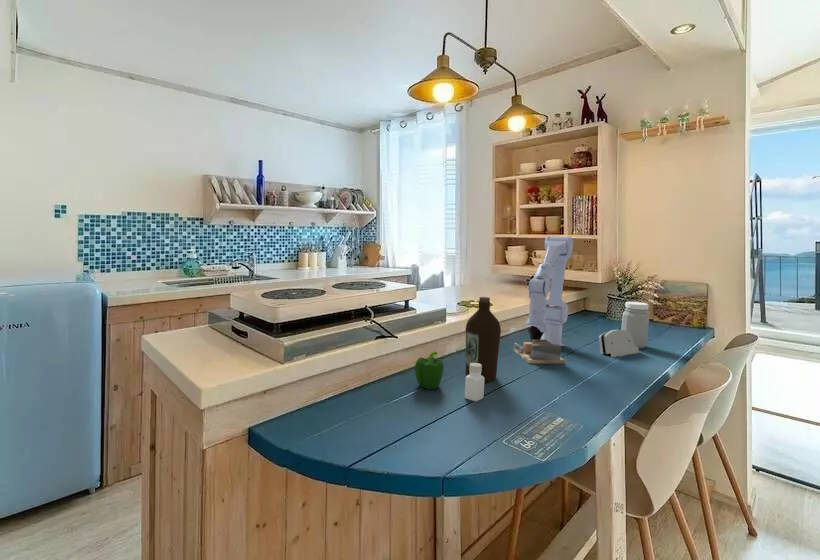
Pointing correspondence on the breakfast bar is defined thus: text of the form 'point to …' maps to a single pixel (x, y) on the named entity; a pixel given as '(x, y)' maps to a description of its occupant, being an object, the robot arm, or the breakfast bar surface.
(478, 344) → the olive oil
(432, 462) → the breakfast bar surface
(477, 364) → the white pill bottle
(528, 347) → the block
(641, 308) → the jar
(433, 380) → the bell pepper
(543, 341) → the block
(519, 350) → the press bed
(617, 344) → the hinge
